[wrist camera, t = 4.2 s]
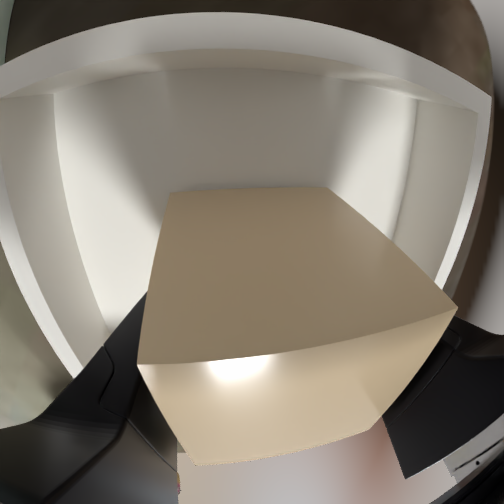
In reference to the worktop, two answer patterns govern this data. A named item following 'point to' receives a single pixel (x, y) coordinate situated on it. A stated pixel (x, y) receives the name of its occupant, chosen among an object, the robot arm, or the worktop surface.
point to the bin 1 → (4, 26)
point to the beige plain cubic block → (279, 321)
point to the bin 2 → (217, 148)
